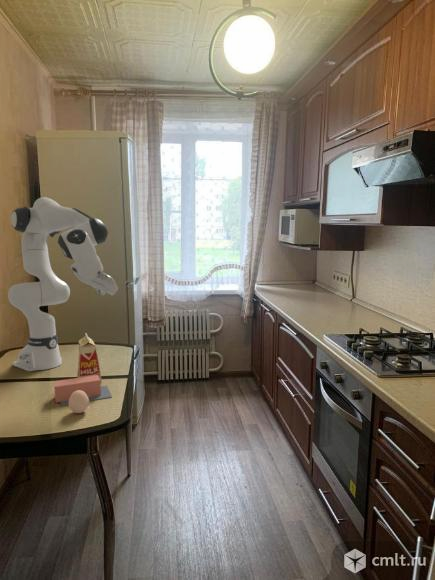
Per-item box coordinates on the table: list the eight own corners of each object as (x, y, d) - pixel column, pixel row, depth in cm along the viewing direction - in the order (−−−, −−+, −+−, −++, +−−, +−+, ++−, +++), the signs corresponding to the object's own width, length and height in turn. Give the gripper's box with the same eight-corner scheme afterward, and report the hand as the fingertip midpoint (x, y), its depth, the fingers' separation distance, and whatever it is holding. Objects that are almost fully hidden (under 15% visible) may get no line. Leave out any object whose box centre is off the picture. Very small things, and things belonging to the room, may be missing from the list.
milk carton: (76, 379, 172) (73, 333, 169) (99, 376, 176) (96, 330, 173) (78, 387, 164) (75, 338, 161) (102, 383, 167) (99, 335, 164)
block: (54, 386, 148) (100, 380, 154) (53, 381, 153) (98, 374, 159) (55, 402, 149) (101, 395, 155) (55, 396, 154) (98, 389, 160)
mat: (60, 405, 146) (60, 405, 146) (59, 393, 157) (59, 392, 157) (111, 397, 154) (111, 396, 153) (107, 386, 164) (106, 385, 164)
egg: (88, 415, 139) (87, 393, 138) (68, 417, 137) (66, 395, 136) (90, 407, 145) (89, 386, 144) (70, 409, 144) (69, 387, 143)
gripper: (116, 271, 153) (125, 296, 163) (78, 256, 163) (90, 280, 172) (104, 282, 150) (115, 307, 160) (67, 265, 159) (79, 290, 169)
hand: (102, 293), depth 166 cm, fingers closed
